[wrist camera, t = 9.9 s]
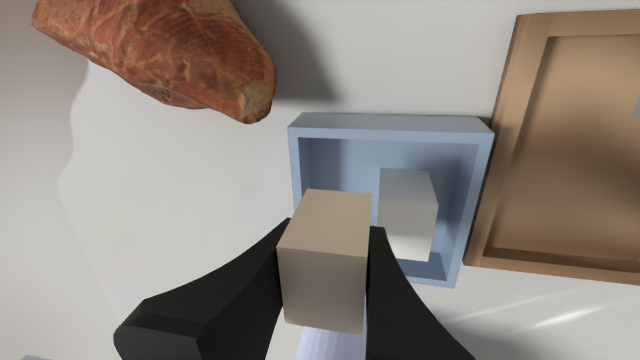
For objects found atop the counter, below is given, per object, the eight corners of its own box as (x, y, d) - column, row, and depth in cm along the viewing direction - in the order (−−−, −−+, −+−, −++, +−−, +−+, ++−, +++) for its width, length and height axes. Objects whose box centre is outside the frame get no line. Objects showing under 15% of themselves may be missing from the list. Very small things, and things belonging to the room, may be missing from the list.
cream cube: (368, 259, 15) (362, 336, 11) (310, 252, 16) (285, 322, 12) (372, 193, 13) (367, 257, 9) (307, 188, 14) (276, 246, 10)
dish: (445, 254, 23) (454, 288, 20) (309, 239, 25) (299, 268, 22) (476, 116, 18) (494, 133, 15) (302, 112, 20) (287, 127, 17)
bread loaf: (314, 87, 15) (99, 139, 10) (266, 153, 22) (122, 207, 16) (204, -94, 17) (-48, -143, 11) (191, 22, 23) (31, 30, 18)
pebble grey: (420, 219, 21) (427, 261, 17) (376, 215, 22) (374, 255, 18) (427, 170, 19) (438, 206, 15) (379, 167, 20) (378, 201, 16)
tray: (641, 269, 20) (661, 288, 19) (458, 249, 22) (463, 265, 21) (815, 3, 13) (871, -1, 11) (516, 15, 15) (531, 13, 14)
